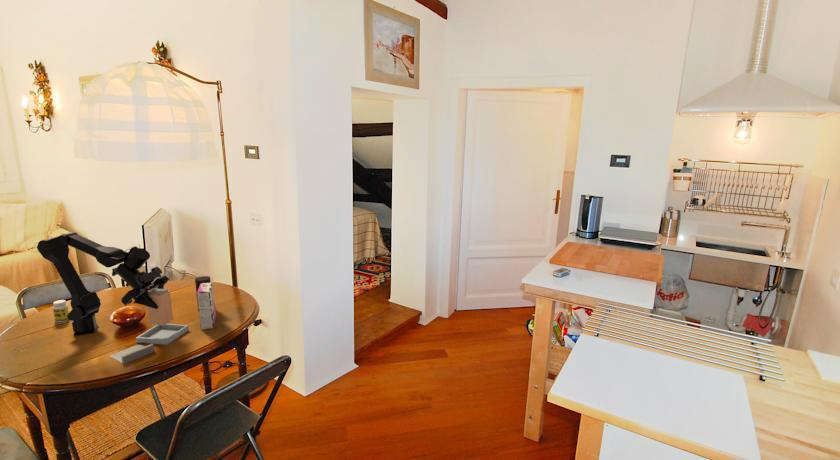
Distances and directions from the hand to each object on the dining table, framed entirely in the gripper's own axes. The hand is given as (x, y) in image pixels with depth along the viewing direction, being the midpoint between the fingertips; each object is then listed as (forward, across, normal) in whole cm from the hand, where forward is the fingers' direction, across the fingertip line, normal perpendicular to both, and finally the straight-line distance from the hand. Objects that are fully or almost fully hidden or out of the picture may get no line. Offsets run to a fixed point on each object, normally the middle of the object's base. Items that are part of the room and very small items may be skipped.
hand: (162, 305), depth 157 cm
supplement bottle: (-27, +7, +47) cm, 54 cm away
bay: (+7, -13, +12) cm, 19 cm away
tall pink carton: (+4, 0, +6) cm, 7 cm away
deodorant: (+9, +26, +10) cm, 30 cm away
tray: (+9, 0, +10) cm, 13 cm away
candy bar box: (+16, +13, +3) cm, 21 cm away
